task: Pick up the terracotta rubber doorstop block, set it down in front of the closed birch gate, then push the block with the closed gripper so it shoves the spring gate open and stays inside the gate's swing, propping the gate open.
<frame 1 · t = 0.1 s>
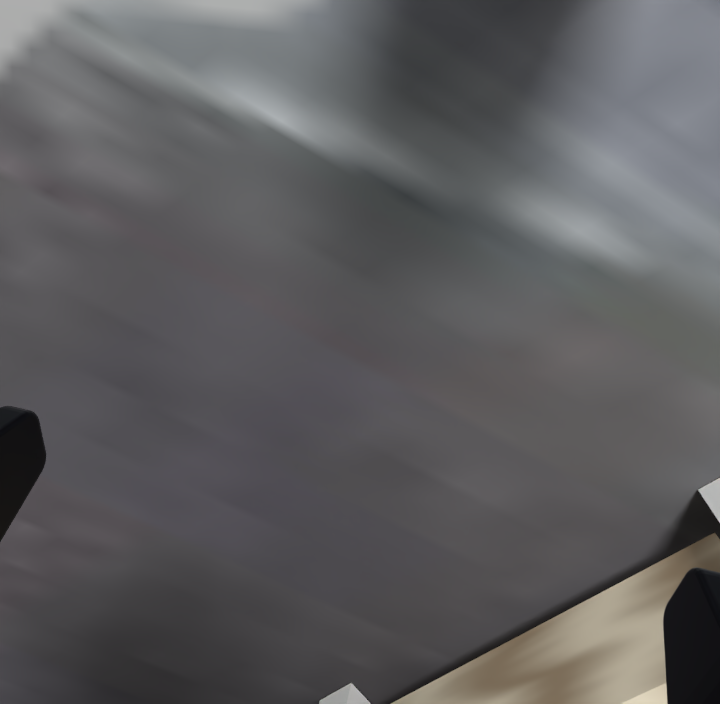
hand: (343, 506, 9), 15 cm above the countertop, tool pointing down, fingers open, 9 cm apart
twin post hurdle: (513, 629, 27), on the countertop
gate: (546, 687, 23), point 4 cm above the countertop, hinge at 0.0°
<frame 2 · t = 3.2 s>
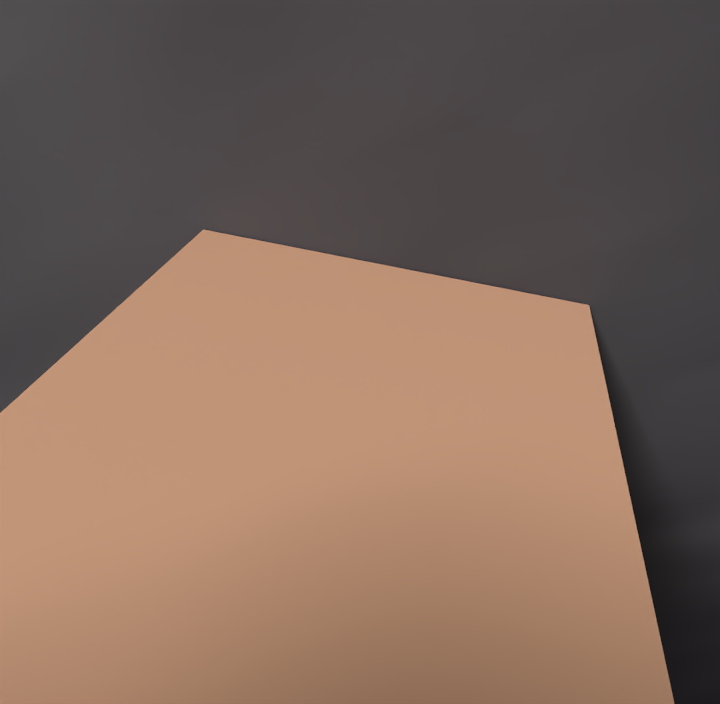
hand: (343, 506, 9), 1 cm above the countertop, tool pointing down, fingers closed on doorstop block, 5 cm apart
doorstop block: (362, 442, 10), on the countertop, touching gripper
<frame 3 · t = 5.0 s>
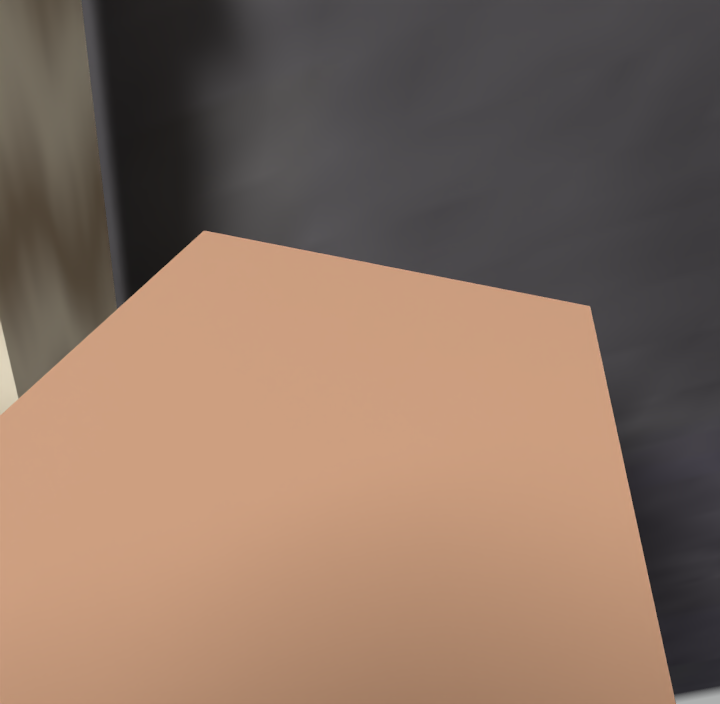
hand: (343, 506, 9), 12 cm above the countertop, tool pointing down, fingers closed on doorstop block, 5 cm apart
gate: (35, 222, 17), point 4 cm above the countertop, hinge at 0.0°
doorstop block: (362, 443, 10), point 10 cm above the countertop, touching gripper
when the fingers open (3 cm above the countertop, at t = 7.3 s): doorstop block drops 1 cm, on the countertop.
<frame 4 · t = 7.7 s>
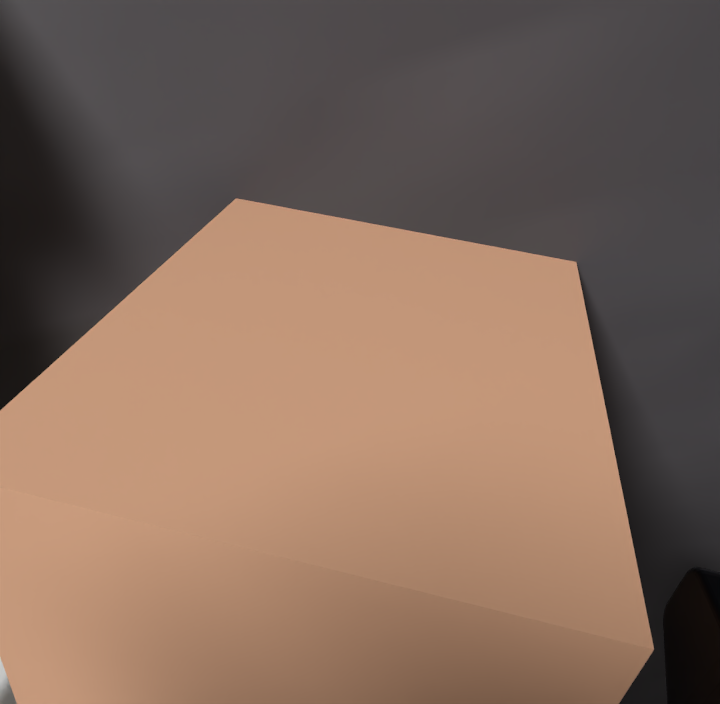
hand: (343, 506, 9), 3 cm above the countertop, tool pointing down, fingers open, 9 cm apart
doorstop block: (375, 391, 11), on the countertop
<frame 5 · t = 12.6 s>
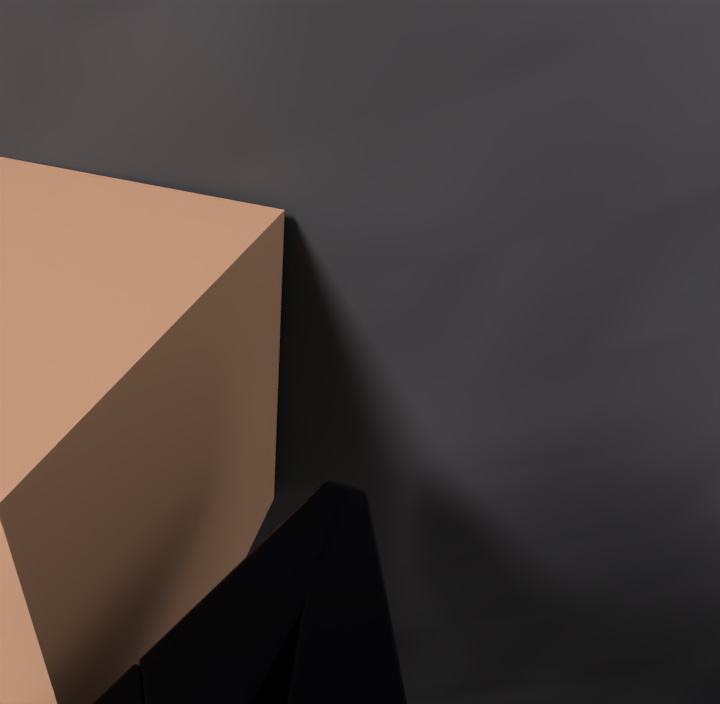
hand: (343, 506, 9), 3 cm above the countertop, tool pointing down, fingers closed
doorstop block: (144, 346, 11), on the countertop, touching gripper
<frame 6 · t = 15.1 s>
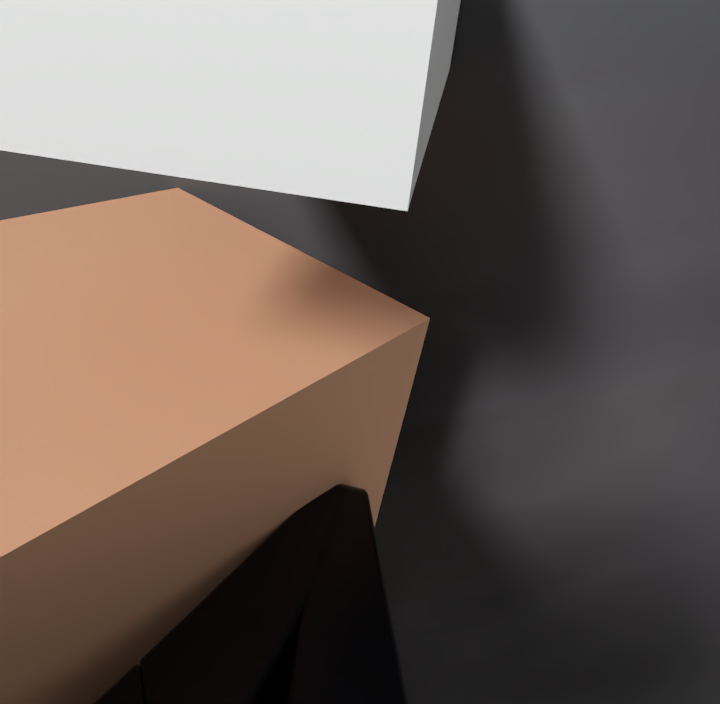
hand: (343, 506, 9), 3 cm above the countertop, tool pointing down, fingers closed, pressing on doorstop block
twin post hurdle: (306, 528, 14), on the countertop
doorstop block: (269, 406, 11), point 1 cm above the countertop, tilted 29°, touching gripper
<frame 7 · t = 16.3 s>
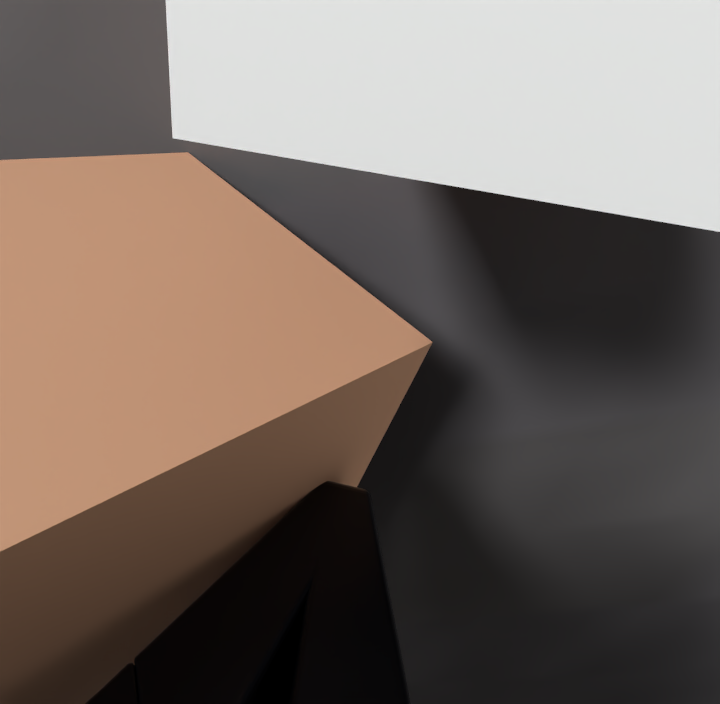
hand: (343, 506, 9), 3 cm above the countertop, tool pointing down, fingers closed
twin post hurdle: (385, 536, 13), on the countertop
doorstop block: (245, 392, 11), point 1 cm above the countertop, tilted 29°, touching gripper
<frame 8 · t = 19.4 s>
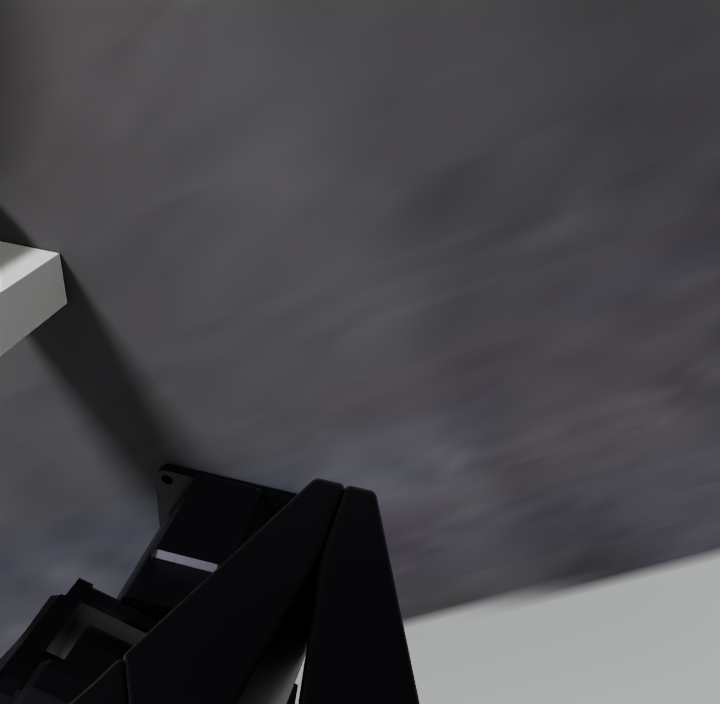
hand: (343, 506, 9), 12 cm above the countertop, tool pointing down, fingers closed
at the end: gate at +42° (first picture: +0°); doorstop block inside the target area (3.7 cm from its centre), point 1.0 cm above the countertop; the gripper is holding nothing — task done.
